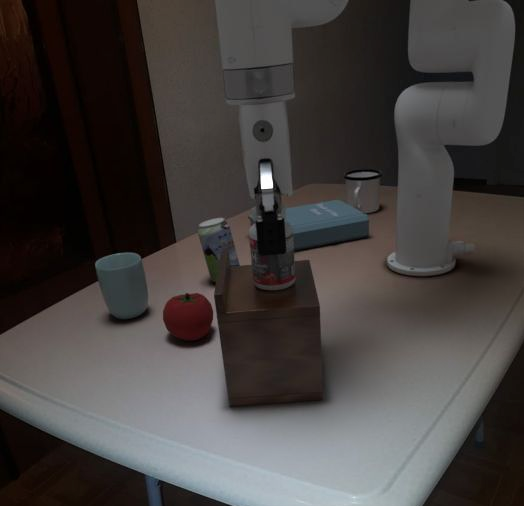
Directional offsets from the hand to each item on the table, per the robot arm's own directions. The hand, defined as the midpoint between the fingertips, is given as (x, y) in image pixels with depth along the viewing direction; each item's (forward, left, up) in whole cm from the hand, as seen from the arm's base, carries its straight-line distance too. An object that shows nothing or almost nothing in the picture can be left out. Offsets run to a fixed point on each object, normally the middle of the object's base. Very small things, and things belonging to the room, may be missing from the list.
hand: (271, 240), depth 68 cm
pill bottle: (0, 0, -6) cm, 6 cm away
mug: (-23, -74, -19) cm, 80 cm away
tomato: (+14, -13, -19) cm, 27 cm away
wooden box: (+1, 0, -19) cm, 19 cm away
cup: (+26, -23, -19) cm, 40 cm away
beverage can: (+10, -35, -19) cm, 41 cm away
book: (-8, -57, -19) cm, 61 cm away
